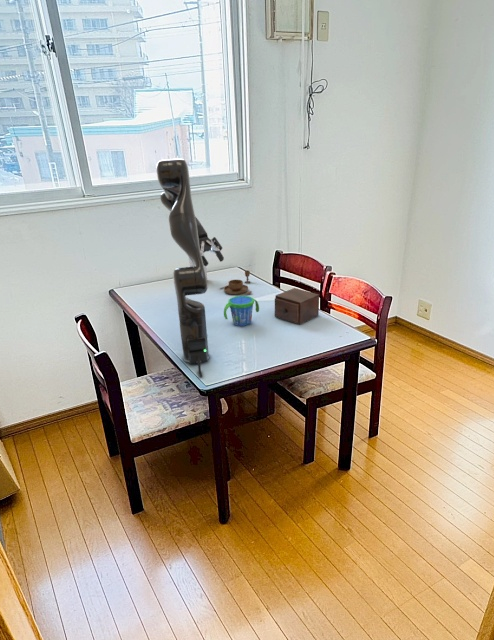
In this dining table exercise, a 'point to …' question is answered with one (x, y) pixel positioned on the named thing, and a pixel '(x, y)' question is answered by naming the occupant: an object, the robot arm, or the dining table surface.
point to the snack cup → (241, 309)
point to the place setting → (237, 286)
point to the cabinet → (302, 303)
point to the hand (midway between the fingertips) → (214, 262)
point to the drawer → (287, 310)
